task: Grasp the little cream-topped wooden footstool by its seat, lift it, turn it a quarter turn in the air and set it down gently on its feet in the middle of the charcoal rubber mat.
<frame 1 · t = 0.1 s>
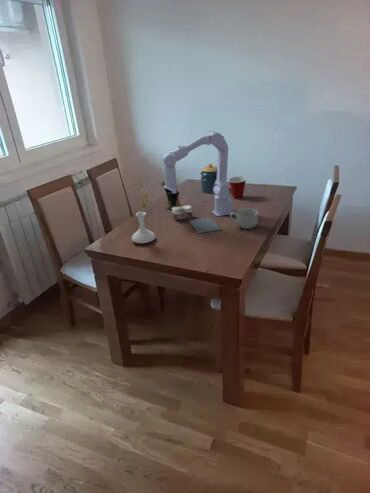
hand: (172, 202, 192), 10 cm above the table, tool pointing down, fingers open, 7 cm apart
flower in vase: (145, 240, 176), on the table
canister: (210, 190, 241), on the table
wooden mug: (171, 208, 214), on the table
plastic cup: (237, 198, 225), on the table
mat: (204, 225, 188), on the table
footstool: (182, 218, 199), on the table
teacup: (244, 226, 184), on the table
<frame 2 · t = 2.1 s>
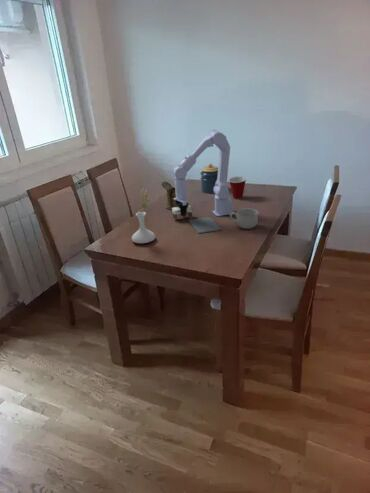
hand: (182, 213, 197), 3 cm above the table, tool pointing down, fingers closed on footstool, 5 cm apart
footstool: (182, 218, 199), on the table, touching gripper
everything else where it was.
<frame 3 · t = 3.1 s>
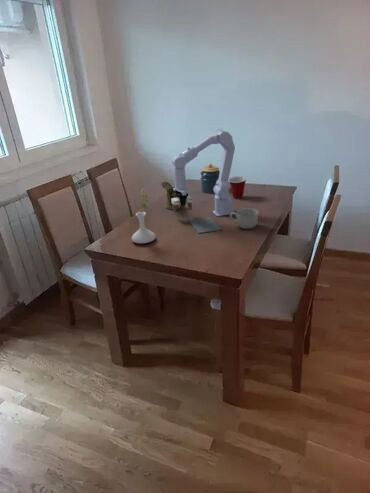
hand: (181, 204, 195), 8 cm above the table, tool pointing down, fingers closed on footstool, 5 cm apart
footstool: (182, 209, 196), point 5 cm above the table, touching gripper
everything else where it was.
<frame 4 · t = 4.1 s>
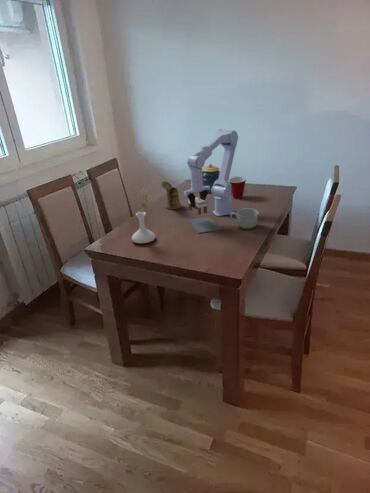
hand: (197, 206, 187), 10 cm above the table, tool pointing down, fingers closed on footstool, 5 cm apart
footstool: (197, 211, 188), point 7 cm above the table, touching gripper
everything else where it was.
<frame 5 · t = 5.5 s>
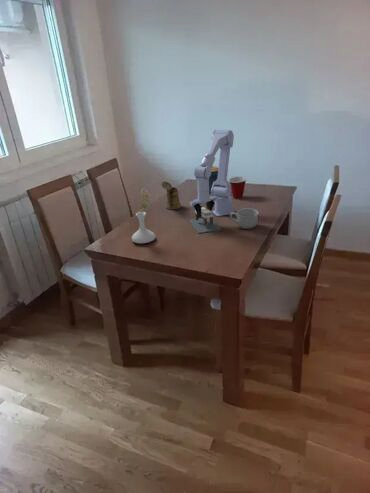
hand: (204, 216, 186), 5 cm above the table, tool pointing down, fingers closed on footstool, 5 cm apart
footstool: (204, 221, 187), point 2 cm above the table, touching gripper
everything else where it was.
when the fingers open (5 cm above the table, at t = 6.5 s): footstool drops 1 cm, resting on mat.
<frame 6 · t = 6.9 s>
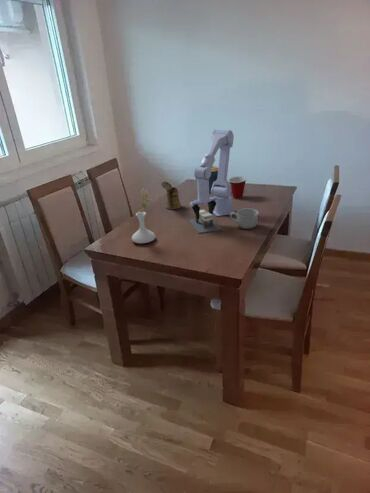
hand: (204, 216, 186), 5 cm above the table, tool pointing down, fingers open, 7 cm apart
footstool: (204, 224, 188), point 1 cm above the table, touching mat
everything else where it was.
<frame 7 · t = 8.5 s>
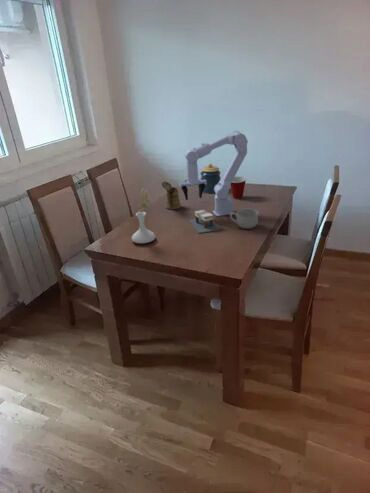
hand: (193, 198, 197), 10 cm above the table, tool pointing down, fingers open, 7 cm apart
nothing on the table moved.
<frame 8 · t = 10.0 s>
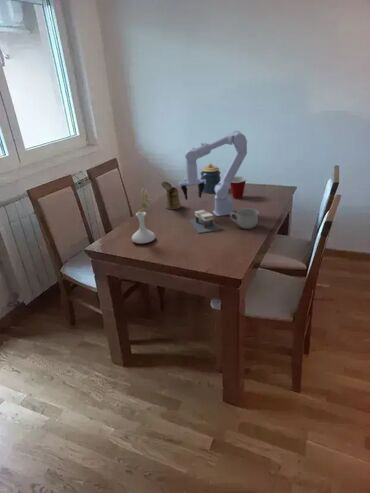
hand: (193, 198, 197), 10 cm above the table, tool pointing down, fingers open, 7 cm apart
nothing on the table moved.
at the end: footstool inside the target area on the mat (0.2 cm from its centre), point 0.6 cm above the mat's base; footstool tilted 0°; the gripper is holding nothing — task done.
